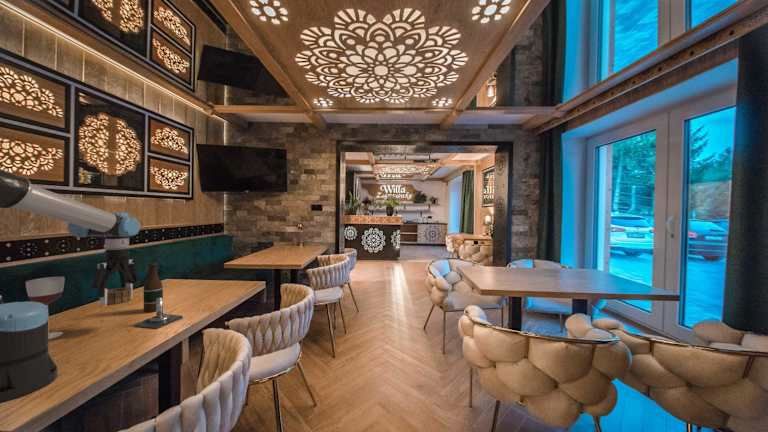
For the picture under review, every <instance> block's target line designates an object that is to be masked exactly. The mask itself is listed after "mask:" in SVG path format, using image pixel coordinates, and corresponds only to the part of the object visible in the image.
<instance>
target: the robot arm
mask: <svg viewBox="0 0 768 432" xmlns="http://www.w3.org/2000/svg"><path fill="white" fill-rule="evenodd" d="M0 208H1V209H5V210H7V209H11V208H15V209H17V210H18V209H19V210H22V211H25V212H29V213H33V214H36V215H39V216H43V217H47V218H51V219H54V220H58V221H60V222H65V223H68V224H67V230H68V232H69V234H70V235H71V236H73V237H77V238H86V237H104V248H105V250H104V258H105V260H104V262H102V263H96V264H95V269H96V270H95V274H94V277H93V281H92V285H91V289H94V290H97V296H98V298H99V306H108V305H107V290H108V288H106V287H107V286H108V283H109V281H110V279H111V277H112V276H113V274H114V273H115V272H117V271H120V272H121V273H122V275H123V276H124V278H125V280H126V281H127V282H126V283H125V288H131V299H133V291H134V290H135V284H136V283H137V281H139V280H140V276H139V273H138V267H137V260H136V259H131V258H130V259H129V256H130V249H129V247H130V237H133V236H136V235H137V234H138V233H140V230H141V223H140V221H139V220H138V219H137V218H135V217H130V215H129V213H127V212H109V211H106V210H103V209H100V208H98V207H95V206H93V205H89V204H87V203H84V202H81V201H78V200H76V199H74V198H73V199H72V198H70V197H67V196H64V195H63V194H62V195H61V194H59V193H56V192H54V191H50V190H47V189H45V188H42V187H41V186H38V185H37V186H36V185H35V184H32V183H31V182H30V180H29V179H28V178H26V177H22V176H20V175H17V174H14V173H12V172H9V171H6V170H4V169H1V168H0ZM49 318H50V316H49V310H48V311H47V307H46V306H45V305H44V304H42V303H39V302H32V301H31V300H29V301H14V302H12V301H11V302H7V303H4V300H3V296H2V294H1V295H0V403H1V402H2V403H3V402H7V401H10V400H14V399H17V398H20V397H23V396H26V395H28V394H29V395H30V394H31V393H34V392H36V391H38V390H40V389H42V388H44V387H47V386H48V385H49V384H51V383H53V382H54V381H55V380H56V379H58V377H59V373H58V372H59V370H58V369H59V368H58V366H57V364H56V363H55V361H54V359H53V358H52V356H51V354H50V353H49V339H48V330H49V320H50V319H49Z"/></svg>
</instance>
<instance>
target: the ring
mask: <svg viewBox="0 0 768 432" xmlns="http://www.w3.org/2000/svg"><path fill="white" fill-rule="evenodd" d="M131 301H132V298H131V288H126V287H118V288H117V287H116V288H110V289H107V305H106V306H114V305H116V306H117V305H121V304H125V303H128V302H131Z"/></svg>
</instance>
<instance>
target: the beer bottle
mask: <svg viewBox="0 0 768 432" xmlns="http://www.w3.org/2000/svg"><path fill="white" fill-rule="evenodd" d="M147 275H148V277H147V279H146V281H145V282H144V285H143V311H144V312H145V313H146V314H148V313H156V300H157V298H160V297H161V298H163V297H164V296H163V295H164V288H163V287H164V286H163V283H162V281H161V279H160V278H159V275H158V263H157V262H149V263H148V274H147Z"/></svg>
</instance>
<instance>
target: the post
mask: <svg viewBox="0 0 768 432" xmlns="http://www.w3.org/2000/svg"><path fill="white" fill-rule="evenodd" d="M155 314H156V315H155V316H152V317H150V318H147V319H144V320H141V321H138V322H135V323H134V327H138V328H147V329H156V330H158V329H160V328H163V327H166V326H169V325H170V324H172V323H174V322H177V321H179V320H180V321H181V320H182V319H184V316H183V315H177V314H166V313H164V299H163V298H161V297H160V298H157V300H156V312H155Z"/></svg>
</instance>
